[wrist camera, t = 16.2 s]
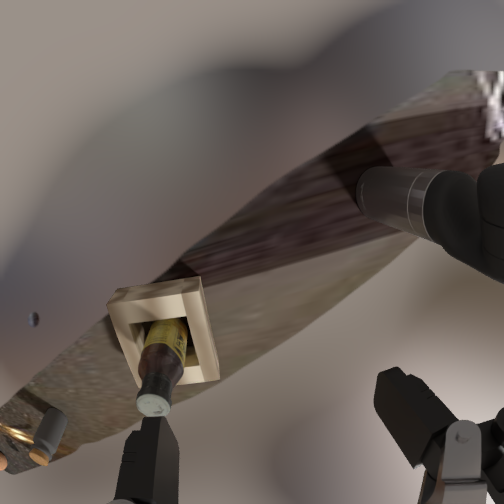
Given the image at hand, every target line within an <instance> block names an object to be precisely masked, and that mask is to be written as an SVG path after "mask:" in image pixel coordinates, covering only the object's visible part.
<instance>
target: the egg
mask: <svg viewBox="0 0 504 504" xmlns="http://www.w3.org/2000/svg"><path fill="white" fill-rule="evenodd" d="M6 466H7V460H6V457H5V456H4V455H3V454H2V453H1V452H0V471H1V470H4V469H5V468H6Z"/></svg>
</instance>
